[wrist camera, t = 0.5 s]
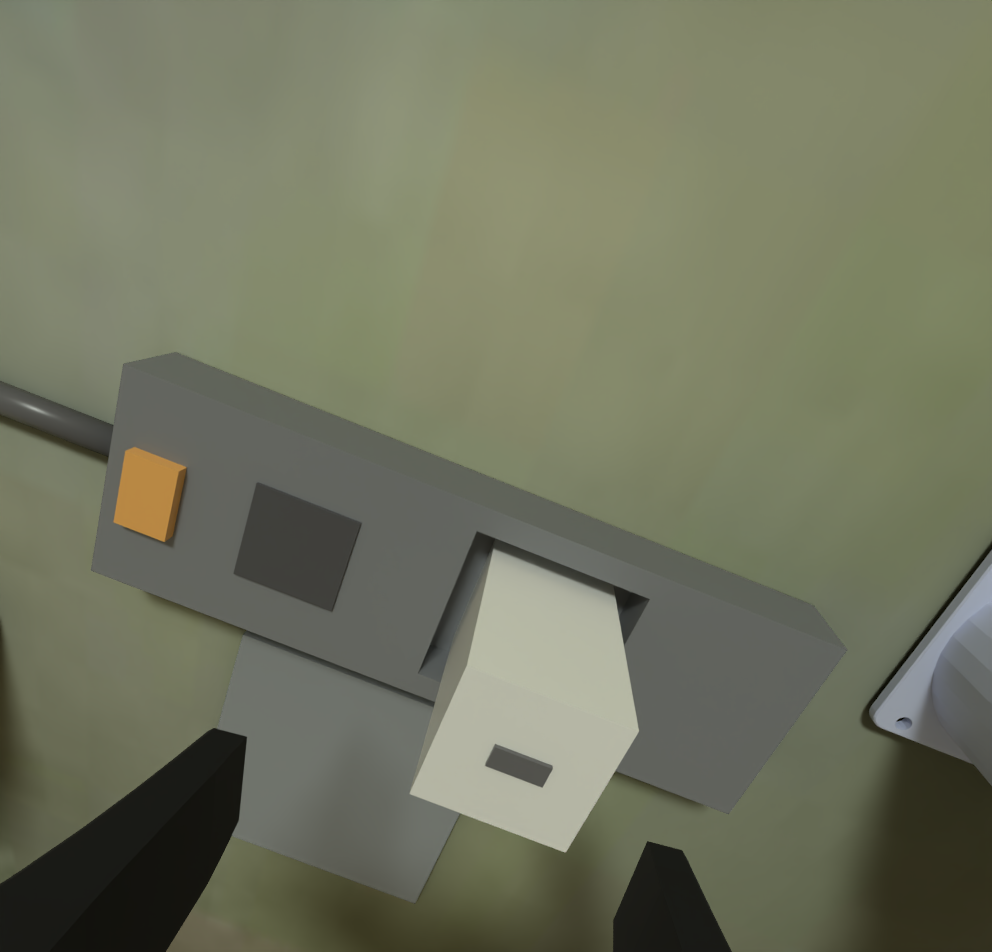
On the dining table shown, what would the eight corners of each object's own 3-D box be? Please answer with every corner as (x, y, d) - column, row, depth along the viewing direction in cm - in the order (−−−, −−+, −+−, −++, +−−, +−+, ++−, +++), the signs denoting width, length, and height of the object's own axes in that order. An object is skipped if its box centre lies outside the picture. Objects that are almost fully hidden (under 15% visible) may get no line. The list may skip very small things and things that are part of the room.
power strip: (813, 605, 20) (853, 658, 17) (711, 758, 22) (731, 825, 19) (-101, 243, 18) (-210, 238, 16) (-105, 444, 21) (-200, 469, 18)
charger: (612, 582, 19) (639, 734, 13) (563, 677, 20) (565, 856, 14) (496, 537, 19) (466, 668, 13) (454, 635, 20) (408, 797, 14)
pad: (501, 724, 22) (499, 732, 22) (417, 894, 26) (415, 903, 25) (248, 628, 22) (243, 634, 22) (197, 813, 25) (191, 821, 25)
